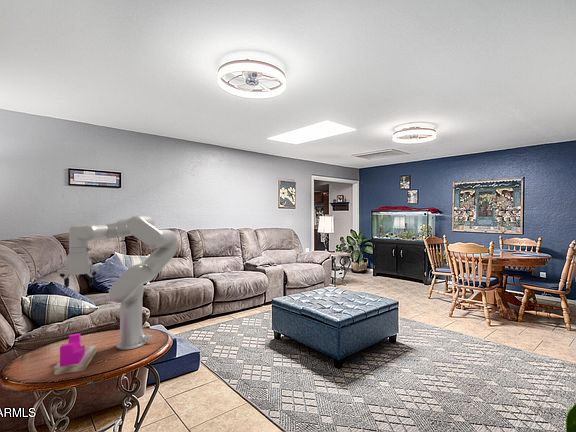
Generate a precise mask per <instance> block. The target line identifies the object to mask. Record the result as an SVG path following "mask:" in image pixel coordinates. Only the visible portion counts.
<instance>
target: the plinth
mask: <svg viewBox="0 0 576 432" xmlns="http://www.w3.org/2000/svg"><path fill="white" fill-rule="evenodd" d="M96 353H97V345H90V346H85V354H84V356H83V358H82V359H81V361H80V363H79V364H73V365H67V366H61V367H60V360H59V361H58V362H57V363H56V365H54V368H53V375H54V376H57V375H63V374H70V373H76V372H77V373H78V372H82V371H85V370H86V368H87V367H88V366H89V364H90V363H91V361H92V360H93V358H94V357H95V355H96Z"/></svg>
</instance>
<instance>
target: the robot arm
mask: <svg viewBox="0 0 576 432" xmlns="http://www.w3.org/2000/svg"><path fill="white" fill-rule="evenodd" d="M155 226H156V225H155V220H154V219H153V217H150V216H148V215H133V216H131V217H129V218H123V219H122V218H121V219H119V220H116V222H113V223H107V224H106V223H105V224H85V225H71V226H70V227H69V229H68V232H69V233H68V235H69V237H68V238H69V239H68V242H69V244H68V245H69V246H68V249H69V250H68V251H69V252H68V254H67V257H66V260H65V261H66V262H65V266H63V267H61V268H59V269H57V271H56V272H57V273H58V275H59V277H61V278H62V279H63V282H64V283H63V285H64V287H65V288H68V287H70V278H69V277H70V276H73V275H76V276H77V275H87V276H89V277H88V286H92V285H93V284H94V277H95V275H97V274H98V271H99V270H100V267H98V266H97V265H94V264H93V263H92V256H91V253H90V252H92V247H89V244H88V243H89V241H100V240H108V239H115V238H125V237H131V236H134V237H135V238H136V239H138V240H140V242H142V243H143V244H145V245H146V246H148V247H149V248H152V249H155V250H154V251H153V252H152V253H151V254H150V255H149V256H148V257H147V258H146V259H145V260H144V261H143V262H140V263H137V264H134V265H131V266H130V267H128V268H127V269H125V271H124V272H123V273H122V274H121V275H120V276H119V277H118V278H117V279H116V281H114V283H113V284H112V285H111V286H110V288H109V290H108V296H109V297H108V298H109V299H110V301H112V302H113V303H115V304H120V306H119V342H117V343H116V349H117V350H123V351H125V350H132V349H134V350H135V349H136V348H140V347H143V346H144V345H145V344H146V343H147V340H153V334H150V333H147V334H144V333H145V332H144V331H143V297H144V291H145V287H144V284H147V283H149V282H151V281H152V280H154V278H156V276H157V275H158V274H159V273H160V272H161V271H162V270H163V268H165V267H166V265H168V263H169V262H170V261H171V259H173V257H174V256H175V255H176V253H177V251H178V245H179V239H178V236H177V234H176V233H175V232H174V231H173V230H170V229H165V228H164V229H157V227H155ZM93 269H94V271H93V272H92V270H93ZM63 271H65V273H64V272H63Z"/></svg>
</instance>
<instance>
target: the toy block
mask: <svg viewBox="0 0 576 432" xmlns="http://www.w3.org/2000/svg"><path fill="white" fill-rule="evenodd" d="M85 347H86V346H85V345H81V333H75V334H69V335H68V343H66V344H65V343H64V344H61V345H60V346H59V361H60V367H61V366H67V365H73V364H79V363H80V361H81V359H82V358H83V356H84V354H85Z"/></svg>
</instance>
